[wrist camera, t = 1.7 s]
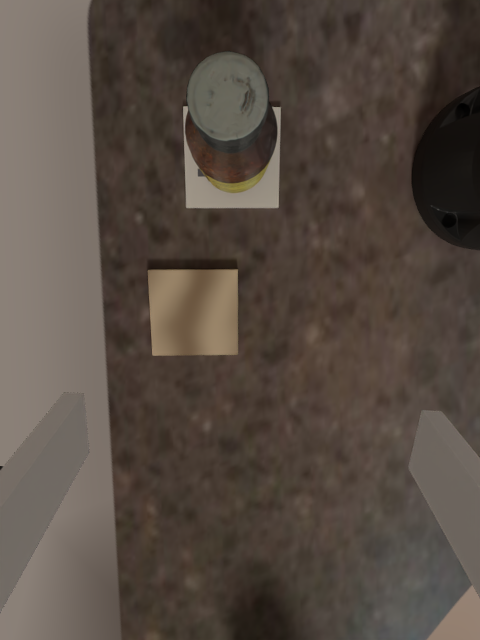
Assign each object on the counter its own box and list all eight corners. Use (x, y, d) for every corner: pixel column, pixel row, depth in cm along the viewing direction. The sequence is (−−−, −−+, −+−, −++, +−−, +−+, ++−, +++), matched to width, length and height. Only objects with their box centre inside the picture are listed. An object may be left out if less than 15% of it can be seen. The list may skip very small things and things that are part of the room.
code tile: (280, 108, 38) (280, 107, 38) (278, 208, 40) (278, 207, 40) (183, 107, 38) (183, 106, 38) (186, 207, 40) (186, 207, 40)
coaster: (237, 269, 42) (237, 269, 41) (237, 352, 44) (237, 354, 43) (148, 269, 42) (147, 270, 41) (153, 353, 44) (152, 355, 43)
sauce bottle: (279, 159, 39) (330, 105, 20) (233, 208, 40) (239, 201, 21) (230, 106, 38) (233, -7, 18) (184, 157, 39) (141, 100, 19)
